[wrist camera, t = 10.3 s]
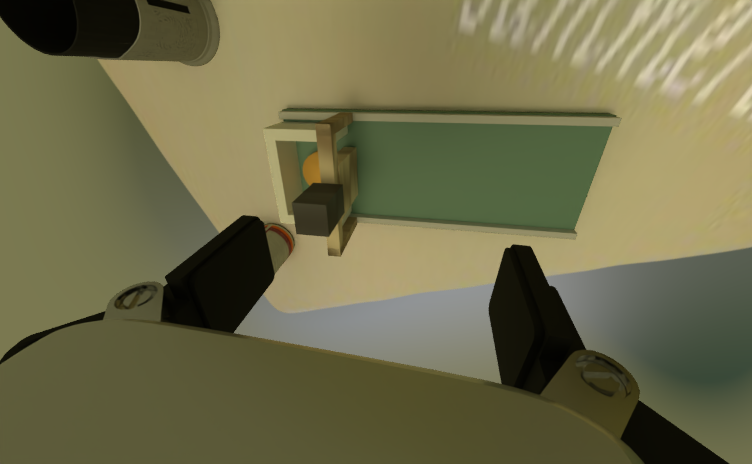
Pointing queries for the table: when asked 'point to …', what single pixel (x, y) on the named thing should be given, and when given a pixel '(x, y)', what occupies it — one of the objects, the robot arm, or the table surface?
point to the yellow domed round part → (312, 169)
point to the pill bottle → (278, 244)
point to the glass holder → (117, 28)
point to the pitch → (453, 167)
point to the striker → (330, 189)
